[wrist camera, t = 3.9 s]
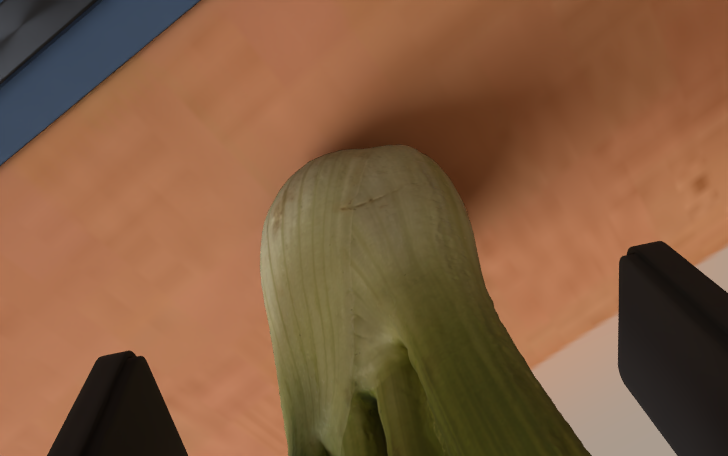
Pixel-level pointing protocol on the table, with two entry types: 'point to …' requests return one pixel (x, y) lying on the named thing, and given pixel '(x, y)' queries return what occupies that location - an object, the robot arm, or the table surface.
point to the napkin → (79, 65)
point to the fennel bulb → (392, 319)
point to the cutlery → (34, 29)
